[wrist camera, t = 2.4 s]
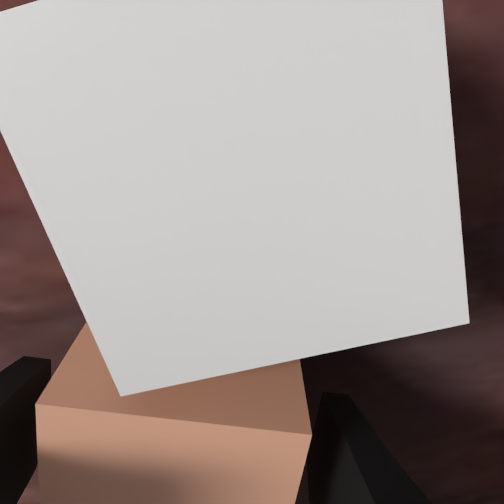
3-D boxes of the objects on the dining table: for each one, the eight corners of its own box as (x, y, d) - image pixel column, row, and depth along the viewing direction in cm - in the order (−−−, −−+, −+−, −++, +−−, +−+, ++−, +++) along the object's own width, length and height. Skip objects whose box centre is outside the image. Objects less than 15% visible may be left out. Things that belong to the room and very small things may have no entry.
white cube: (377, 210, 11) (469, 323, 6) (173, 258, 11) (120, 396, 7) (339, -29, 9) (432, -118, 4) (97, 40, 10) (-47, 26, 5)
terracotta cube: (262, 437, 14) (268, 605, 9) (107, 420, 13) (42, 584, 9) (290, 302, 12) (311, 434, 8) (112, 280, 12) (35, 403, 7)
